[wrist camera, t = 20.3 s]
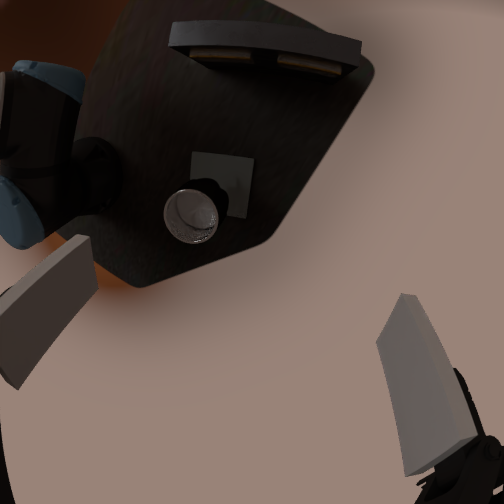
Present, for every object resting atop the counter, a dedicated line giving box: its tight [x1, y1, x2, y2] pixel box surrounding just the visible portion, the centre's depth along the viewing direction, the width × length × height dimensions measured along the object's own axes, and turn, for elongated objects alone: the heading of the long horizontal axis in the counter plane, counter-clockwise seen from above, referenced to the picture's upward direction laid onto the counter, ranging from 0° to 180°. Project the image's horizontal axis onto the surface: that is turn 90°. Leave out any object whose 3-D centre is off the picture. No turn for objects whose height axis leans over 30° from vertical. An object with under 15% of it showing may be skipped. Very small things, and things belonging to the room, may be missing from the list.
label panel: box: [168, 20, 362, 85], centre depth 27 cm, size 19×6×16 cm, turn 82°
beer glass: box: [164, 167, 238, 244], centre depth 37 cm, size 7×7×15 cm
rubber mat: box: [190, 151, 254, 219], centre depth 44 cm, size 10×10×1 cm
